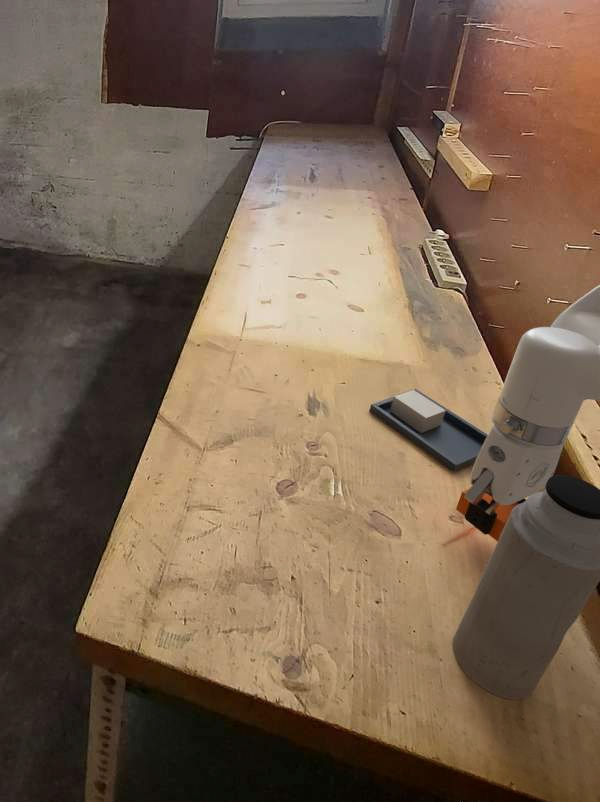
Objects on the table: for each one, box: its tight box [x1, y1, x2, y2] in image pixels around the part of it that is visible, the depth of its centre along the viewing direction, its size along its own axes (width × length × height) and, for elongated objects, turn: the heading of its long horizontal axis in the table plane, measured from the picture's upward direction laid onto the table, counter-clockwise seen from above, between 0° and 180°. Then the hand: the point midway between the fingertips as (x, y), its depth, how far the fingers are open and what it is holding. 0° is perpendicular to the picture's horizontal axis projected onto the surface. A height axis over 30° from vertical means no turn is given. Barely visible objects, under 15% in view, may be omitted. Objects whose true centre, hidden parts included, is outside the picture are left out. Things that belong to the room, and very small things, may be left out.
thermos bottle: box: [451, 474, 600, 701], centre depth 60 cm, size 8×8×28 cm
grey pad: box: [390, 389, 446, 433], centre depth 103 cm, size 5×6×4 cm
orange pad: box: [455, 488, 518, 542], centre depth 79 cm, size 5×6×4 cm
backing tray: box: [369, 388, 488, 473], centre depth 101 cm, size 12×17×2 cm
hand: (490, 518), depth 79 cm, fingers closed on orange pad, 5 cm apart
